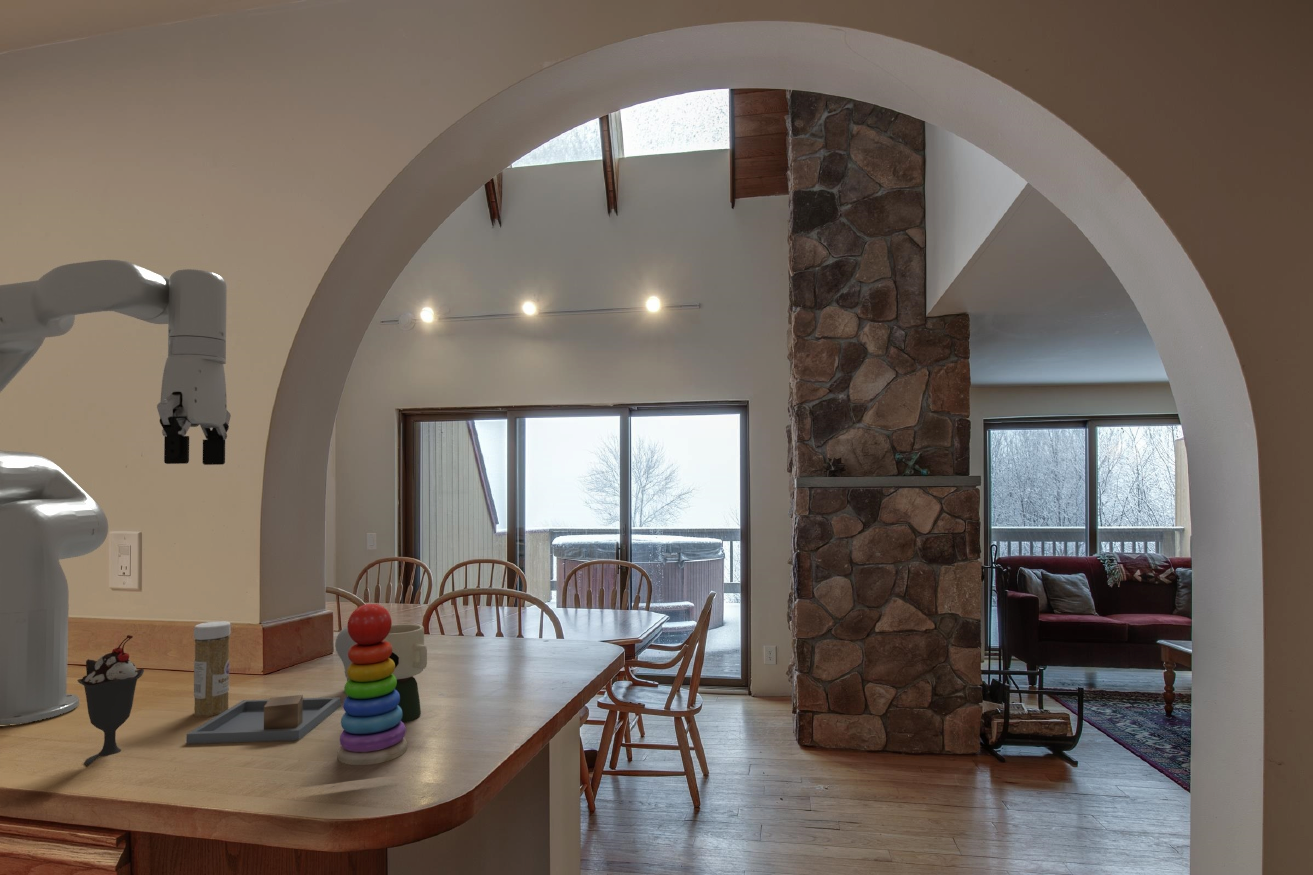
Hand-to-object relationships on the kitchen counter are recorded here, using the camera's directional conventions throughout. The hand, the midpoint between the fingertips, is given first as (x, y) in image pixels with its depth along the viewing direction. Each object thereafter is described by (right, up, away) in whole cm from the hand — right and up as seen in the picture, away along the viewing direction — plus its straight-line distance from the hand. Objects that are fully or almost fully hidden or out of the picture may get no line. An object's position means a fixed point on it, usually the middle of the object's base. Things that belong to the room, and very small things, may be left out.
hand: (196, 464), depth 111 cm
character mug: (+34, -36, -9) cm, 50 cm away
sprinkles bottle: (+6, -37, -6) cm, 38 cm away
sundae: (+2, -36, -21) cm, 41 cm away
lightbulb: (+22, -37, +5) cm, 43 cm away
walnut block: (+21, -35, -14) cm, 43 cm away
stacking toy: (+35, -35, -22) cm, 55 cm away
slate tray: (+17, -36, -11) cm, 41 cm away
